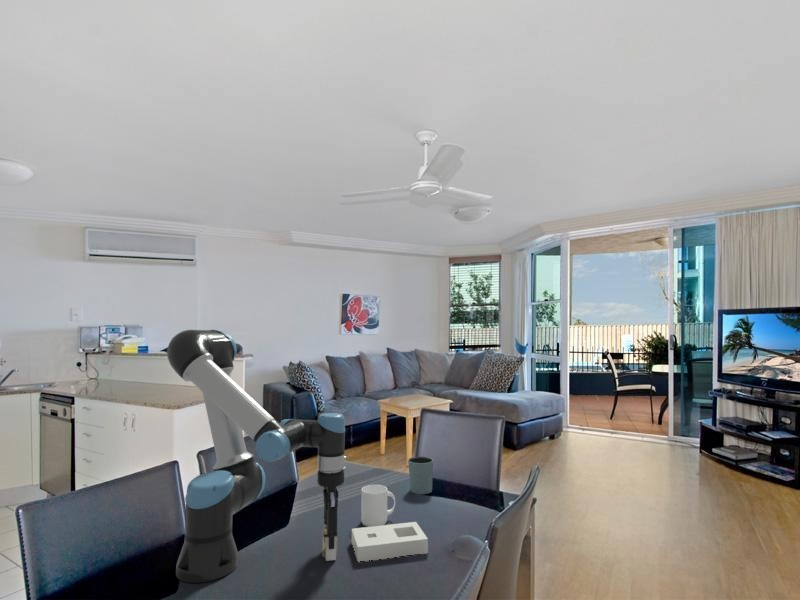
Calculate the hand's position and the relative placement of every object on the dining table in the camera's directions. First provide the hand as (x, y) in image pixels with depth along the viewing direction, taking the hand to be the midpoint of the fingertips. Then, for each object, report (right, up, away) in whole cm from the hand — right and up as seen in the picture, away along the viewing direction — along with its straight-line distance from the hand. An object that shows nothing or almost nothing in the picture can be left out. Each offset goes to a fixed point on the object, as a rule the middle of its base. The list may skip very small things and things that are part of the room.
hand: (329, 554), depth 125 cm
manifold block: (+17, -1, +4) cm, 17 cm away
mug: (+13, -2, +23) cm, 26 cm away
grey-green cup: (+28, -5, +52) cm, 60 cm away
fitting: (0, 0, 0) cm, 0 cm away
